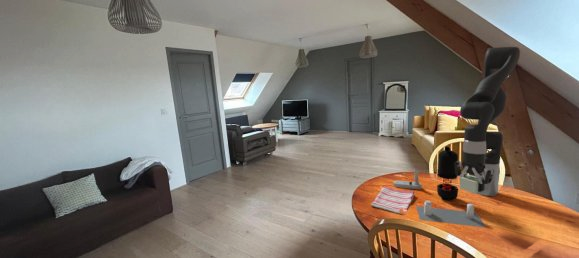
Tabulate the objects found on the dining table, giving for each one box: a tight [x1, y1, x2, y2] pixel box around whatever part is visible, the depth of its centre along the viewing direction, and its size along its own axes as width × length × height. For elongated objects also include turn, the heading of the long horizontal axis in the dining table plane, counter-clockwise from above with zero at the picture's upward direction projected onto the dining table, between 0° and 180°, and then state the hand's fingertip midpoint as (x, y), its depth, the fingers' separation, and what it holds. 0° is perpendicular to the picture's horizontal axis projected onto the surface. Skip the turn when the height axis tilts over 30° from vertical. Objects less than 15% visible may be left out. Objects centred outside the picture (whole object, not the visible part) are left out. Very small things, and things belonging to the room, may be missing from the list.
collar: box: [459, 174, 479, 195], centre depth 99 cm, size 6×6×5 cm
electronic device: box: [392, 171, 423, 190], centre depth 139 cm, size 5×10×15 cm
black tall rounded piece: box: [436, 146, 459, 201], centre depth 118 cm, size 14×9×30 cm
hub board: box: [415, 200, 488, 228], centre depth 105 cm, size 24×12×8 cm, turn 69°
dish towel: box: [370, 185, 415, 216], centre depth 124 cm, size 17×23×4 cm
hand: (471, 188), depth 100 cm, fingers closed on collar, 6 cm apart
